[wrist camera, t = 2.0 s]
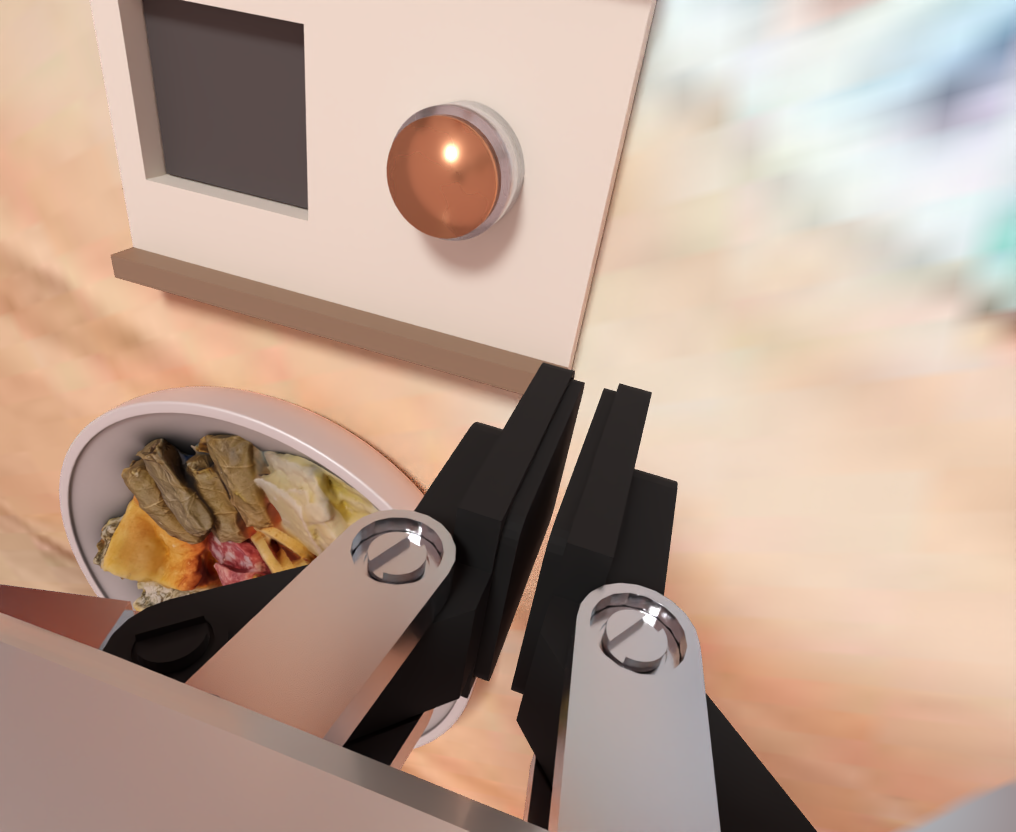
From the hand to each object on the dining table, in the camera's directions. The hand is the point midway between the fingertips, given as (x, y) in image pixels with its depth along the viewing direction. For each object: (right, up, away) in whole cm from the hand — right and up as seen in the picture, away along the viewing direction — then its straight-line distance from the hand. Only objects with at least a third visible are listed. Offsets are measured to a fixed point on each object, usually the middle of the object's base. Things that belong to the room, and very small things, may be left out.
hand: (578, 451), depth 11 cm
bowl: (-16, -9, +35) cm, 40 cm away
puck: (-3, +11, +16) cm, 20 cm away
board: (-8, +13, +18) cm, 24 cm away
